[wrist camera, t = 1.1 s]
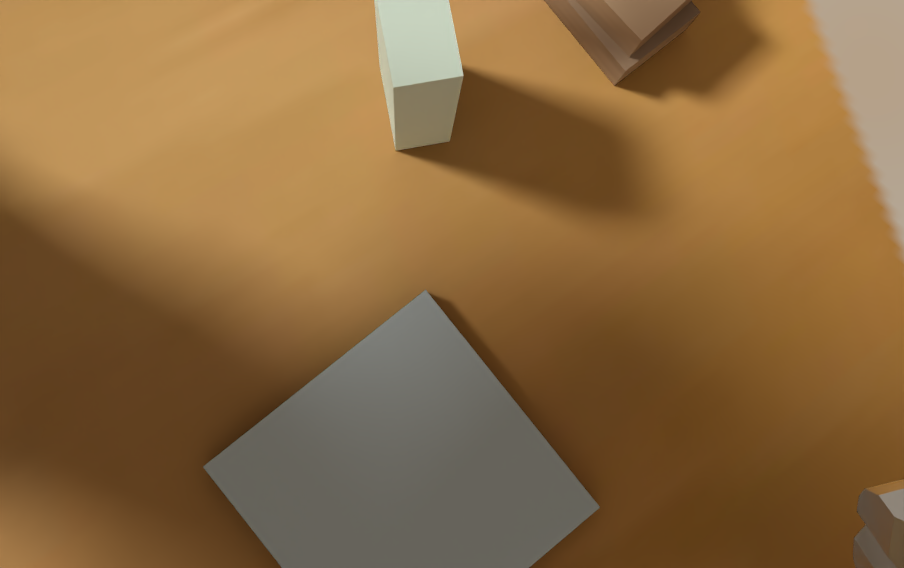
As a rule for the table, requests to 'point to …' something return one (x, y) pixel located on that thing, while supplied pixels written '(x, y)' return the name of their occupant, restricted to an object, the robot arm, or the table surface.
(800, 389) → the table surface
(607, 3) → the offcut stack
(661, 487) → the table surface
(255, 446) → the slate mat
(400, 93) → the tall block
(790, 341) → the table surface
